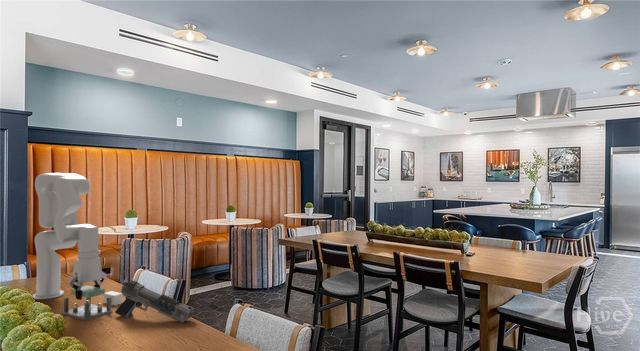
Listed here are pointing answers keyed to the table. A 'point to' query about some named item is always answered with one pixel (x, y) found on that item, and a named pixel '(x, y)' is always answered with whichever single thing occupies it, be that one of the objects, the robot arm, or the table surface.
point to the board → (90, 291)
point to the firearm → (151, 302)
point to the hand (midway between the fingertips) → (87, 296)
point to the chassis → (87, 309)
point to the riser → (113, 297)
